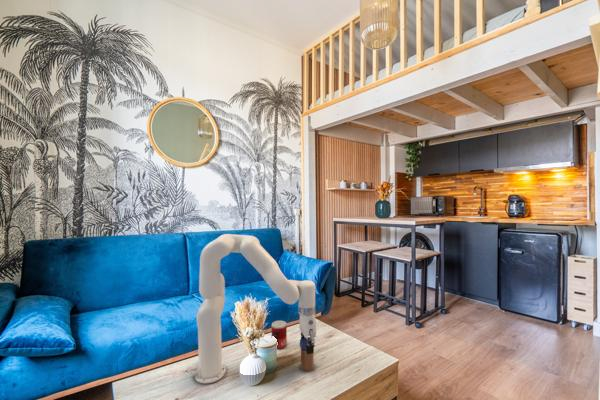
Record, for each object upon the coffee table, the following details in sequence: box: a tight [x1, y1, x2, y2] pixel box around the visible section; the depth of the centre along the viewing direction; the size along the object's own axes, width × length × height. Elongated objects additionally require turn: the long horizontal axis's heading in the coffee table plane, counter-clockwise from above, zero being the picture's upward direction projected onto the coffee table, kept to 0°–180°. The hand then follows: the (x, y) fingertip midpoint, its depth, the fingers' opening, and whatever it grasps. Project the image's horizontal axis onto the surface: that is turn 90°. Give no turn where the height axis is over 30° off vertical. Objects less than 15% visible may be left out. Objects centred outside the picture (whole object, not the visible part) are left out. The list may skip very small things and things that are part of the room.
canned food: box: [271, 320, 288, 350], centre depth 142 cm, size 8×8×11 cm
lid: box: [299, 337, 316, 350], centre depth 124 cm, size 7×7×2 cm
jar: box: [300, 347, 315, 372], centre depth 124 cm, size 6×6×11 cm
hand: (307, 348), depth 124 cm, fingers closed on lid, 6 cm apart
